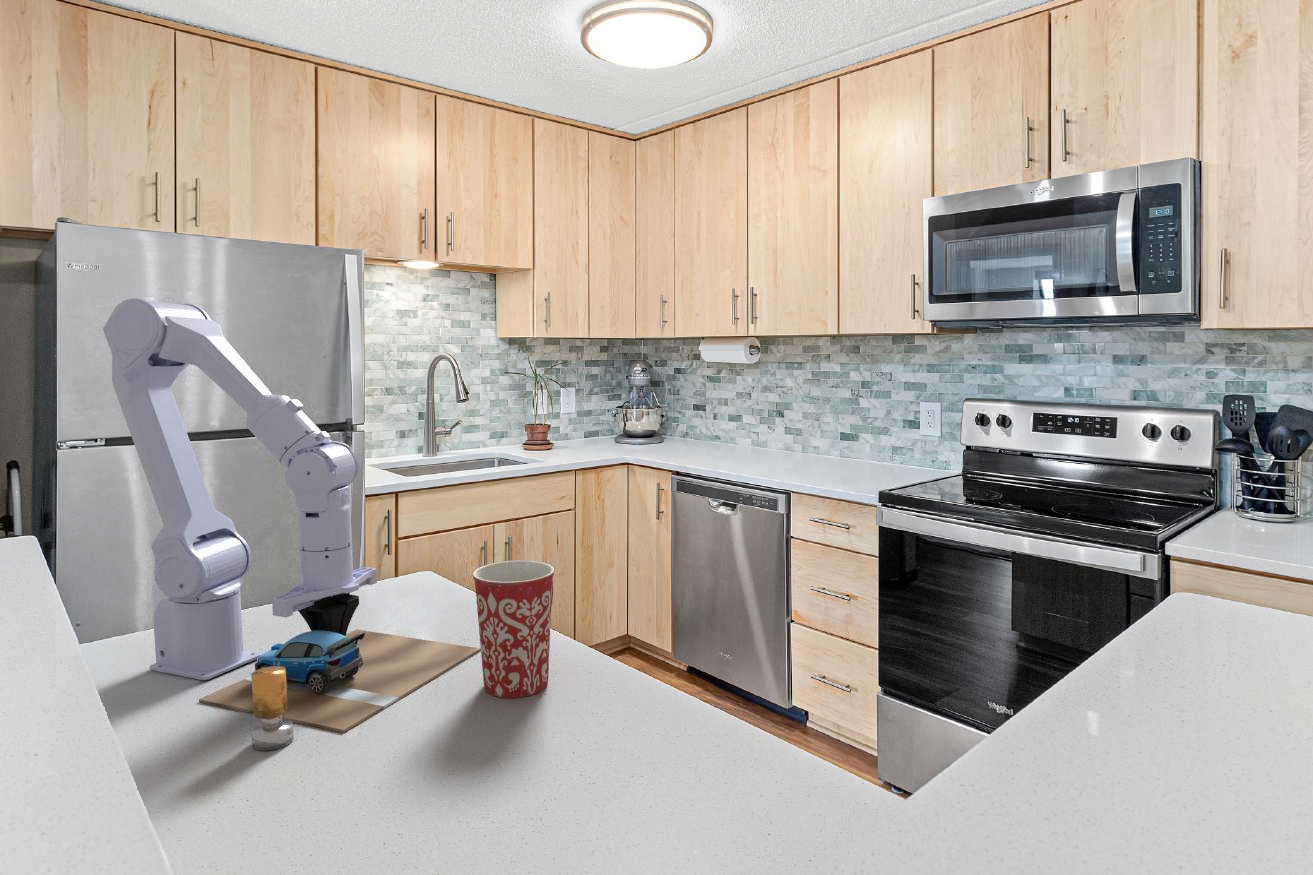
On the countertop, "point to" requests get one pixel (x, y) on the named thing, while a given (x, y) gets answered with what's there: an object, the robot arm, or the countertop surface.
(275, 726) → the coffee tamper
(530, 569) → the mug
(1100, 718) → the countertop surface
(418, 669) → the board
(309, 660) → the toy car
